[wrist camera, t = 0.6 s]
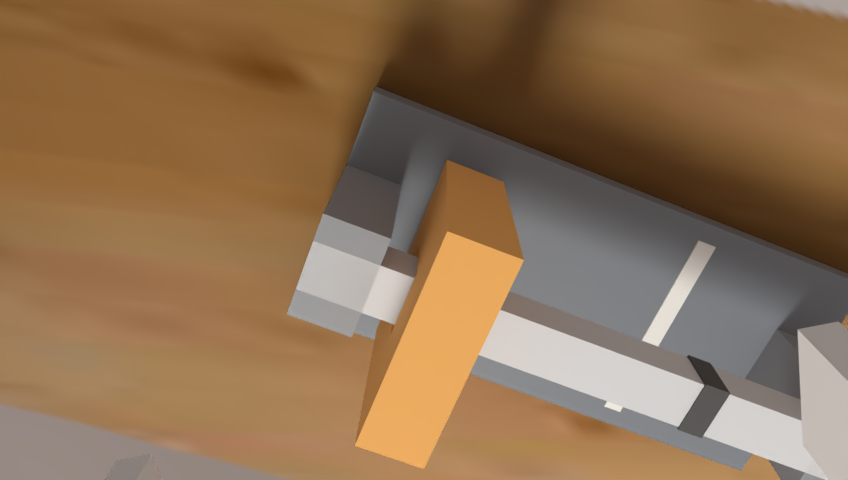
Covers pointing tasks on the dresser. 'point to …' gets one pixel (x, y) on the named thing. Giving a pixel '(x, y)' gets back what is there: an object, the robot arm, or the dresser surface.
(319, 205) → the dresser surface
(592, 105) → the dresser surface
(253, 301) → the dresser surface
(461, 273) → the slotted orange slab
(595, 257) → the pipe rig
